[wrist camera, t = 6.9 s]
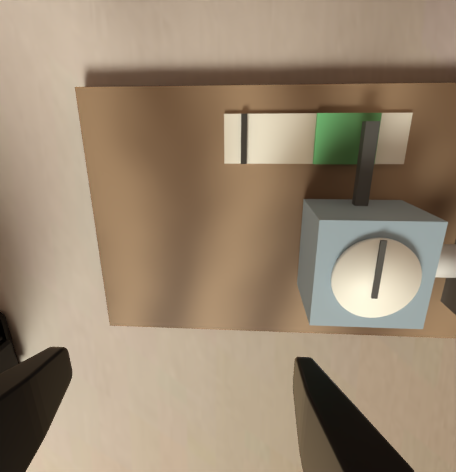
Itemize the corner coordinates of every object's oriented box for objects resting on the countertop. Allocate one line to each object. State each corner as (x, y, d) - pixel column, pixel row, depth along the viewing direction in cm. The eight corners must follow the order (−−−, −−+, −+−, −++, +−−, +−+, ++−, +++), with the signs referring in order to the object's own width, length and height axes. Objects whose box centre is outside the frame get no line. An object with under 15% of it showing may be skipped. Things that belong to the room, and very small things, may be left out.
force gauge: (297, 284, 18) (311, 330, 14) (309, 121, 15) (331, 119, 11) (422, 287, 18) (475, 336, 14) (459, 121, 15) (541, 118, 11)
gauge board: (116, 316, 21) (67, 385, 16) (84, 89, 17) (-1, 69, 11) (455, 328, 20) (537, 408, 14) (522, 84, 15) (683, 58, 10)
